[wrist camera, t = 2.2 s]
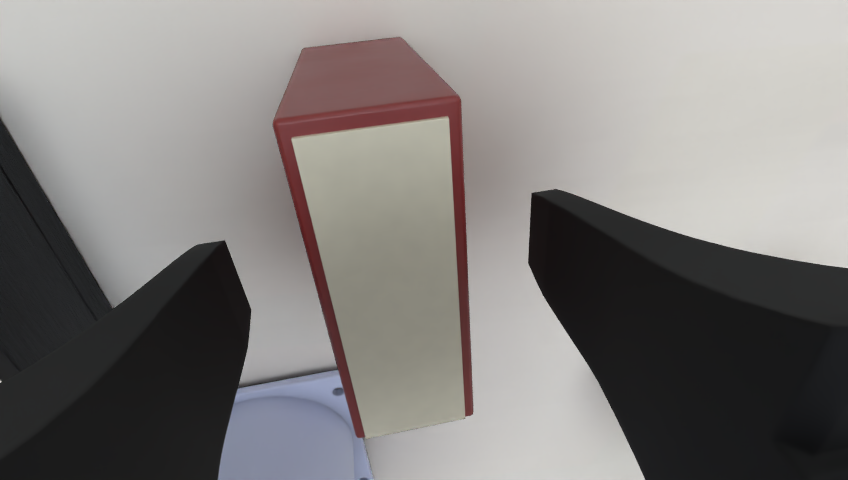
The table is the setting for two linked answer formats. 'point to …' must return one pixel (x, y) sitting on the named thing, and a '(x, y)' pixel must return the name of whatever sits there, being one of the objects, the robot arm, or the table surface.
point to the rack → (37, 271)
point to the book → (383, 227)
